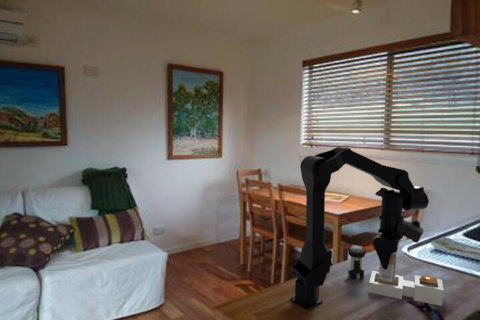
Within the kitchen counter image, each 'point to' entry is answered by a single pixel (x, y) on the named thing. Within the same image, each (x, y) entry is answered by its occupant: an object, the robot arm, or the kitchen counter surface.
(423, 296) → the housing
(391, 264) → the sprinkles bottle
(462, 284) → the kitchen counter surface
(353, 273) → the push button
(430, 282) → the copper and black cylinder
